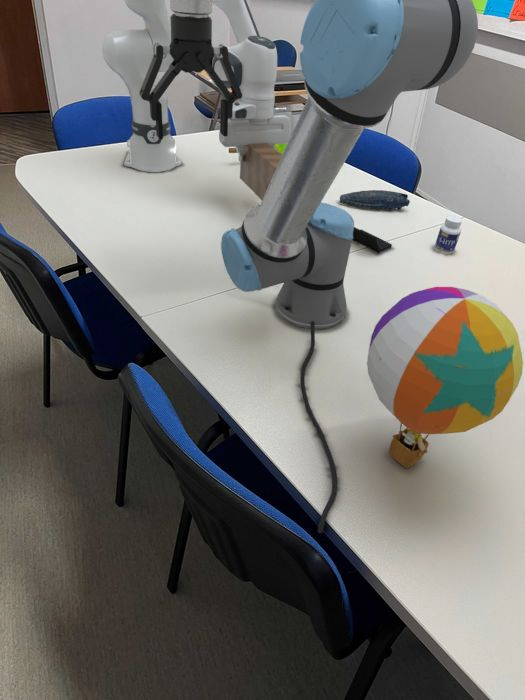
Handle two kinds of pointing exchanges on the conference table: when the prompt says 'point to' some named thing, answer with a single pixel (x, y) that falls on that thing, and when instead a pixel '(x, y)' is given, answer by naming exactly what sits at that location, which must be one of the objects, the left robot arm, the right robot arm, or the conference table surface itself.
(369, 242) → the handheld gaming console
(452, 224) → the pill bottle
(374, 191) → the fish model
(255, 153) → the box
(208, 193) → the conference table surface
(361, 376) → the conference table surface
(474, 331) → the toy
